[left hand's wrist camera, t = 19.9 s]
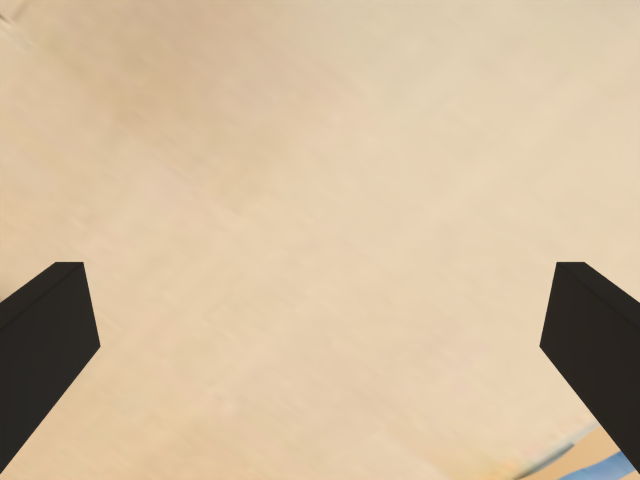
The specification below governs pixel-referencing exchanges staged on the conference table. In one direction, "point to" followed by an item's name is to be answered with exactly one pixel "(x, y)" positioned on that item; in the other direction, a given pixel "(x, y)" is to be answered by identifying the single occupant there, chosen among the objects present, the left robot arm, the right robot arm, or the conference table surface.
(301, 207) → the conference table surface
